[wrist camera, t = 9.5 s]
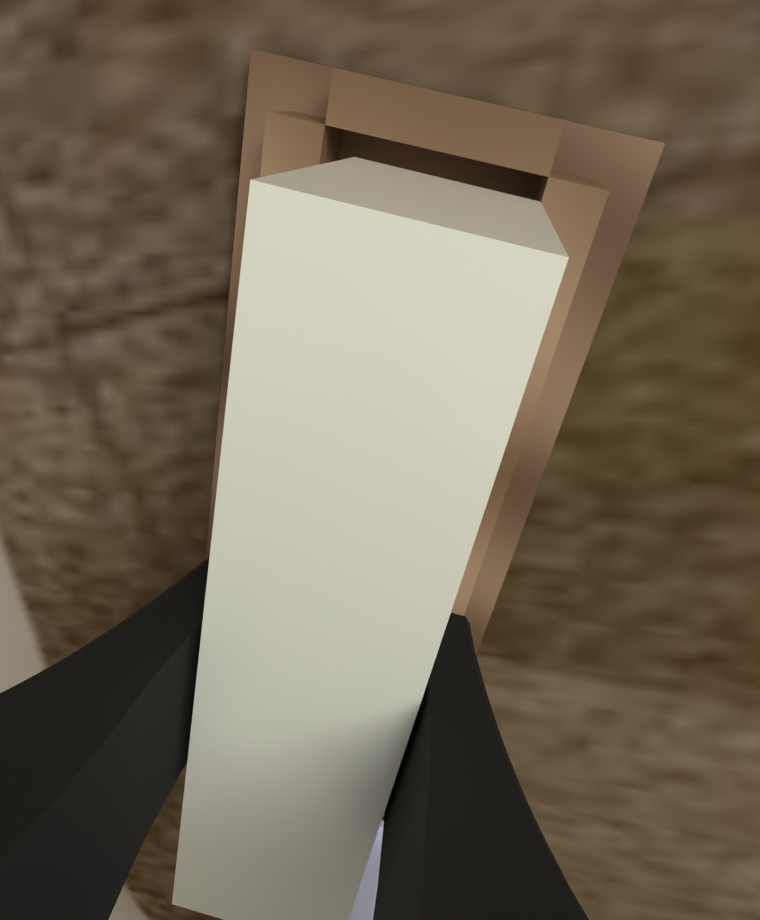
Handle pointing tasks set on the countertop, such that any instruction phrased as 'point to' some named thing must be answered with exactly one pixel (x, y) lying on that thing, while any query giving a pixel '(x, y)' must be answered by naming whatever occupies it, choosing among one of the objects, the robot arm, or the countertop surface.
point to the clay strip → (346, 511)
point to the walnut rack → (483, 165)
